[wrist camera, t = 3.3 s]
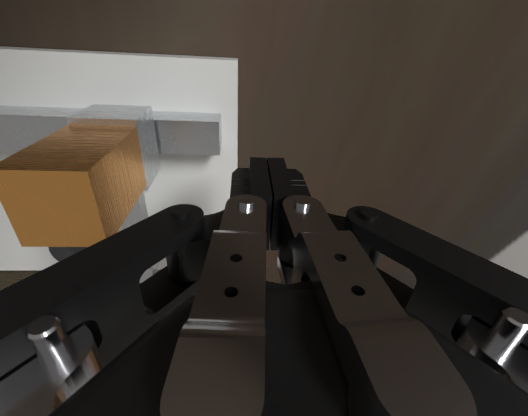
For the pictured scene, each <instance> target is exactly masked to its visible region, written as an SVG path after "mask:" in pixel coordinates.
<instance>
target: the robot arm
mask: <svg viewBox="0 0 528 416" xmlns="http://www.w3.org/2000/svg"><path fill="white" fill-rule="evenodd" d="M269 241H270V250H278V260H277V267H278V271H279V275H280V279H281V283H282V284H279V283H273V282H268V281H266V250H269ZM381 253H382V254H384V255H386V256H387V257H389V258H391V259H393V260H395V261H396V262H398V263H400V264H402V265H404V266H405V267H407V268H409V269H410V270H411V271H412V272H413V273H414V274H415V276H416V280H417V283H416V286H415V288H414V289H412V288H410V287H408V286H407V285H405V284H403V283H402V282H400V281H398V280H397V279H395V278H393V277H392V276H390V275H388V274H387V273H385V272H383V271H382V270H380V269H378V268H377V264H378V261H379V257H380V254H381ZM164 258H166V261H167V266H166V267H164V268H163V269H161V270H160V271H158V272H157V273H155V274H154V275H152V276H151V277H149V278H148V279H146V280H145V281H143V282H142V283H141V284H139V282H140V278H141V276H142V275H143V273H144V272H145V271H146V270H147V269H149V268H150V267H152V266H153V265H155V264H156V263H158V262H160V261H161V260H163V259H164ZM195 294H196V295H195ZM0 416H528V279H527V278H525V277H523V276H521V275H519V274H517V273H514V272H512V271H510V270H508V269H506V268H504V267H501V266H499V265H497V264H495V263H493V262H491V261H488V260H486V259H484V258H482V257H480V256H478V255H475V254H473V253H471V252H469V251H467V250H465V249H462V248H460V247H458V246H456V245H454V244H452V243H449V242H447V241H445V240H443V239H441V238H439V237H436V236H434V235H432V234H430V233H428V232H426V231H423V230H421V229H419V228H417V227H415V226H413V225H410V224H408V223H406V222H404V221H402V220H400V219H397V218H395V217H393V216H391V215H389V214H387V213H384V212H382V211H380V210H378V209H375V208H372V207H366V206H356V207H352V208H350V209H349V210H348V211H347V215H346V217H343V216H338V215H333V214H329V213H327V212H326V210H325V209H324V207H323V205H322V204H321V202H320V201H318V200H317V199H315V198H312V197H311V195H310V193H309V190H308V188H307V186H306V183H305V181H304V178H303V175H302V174H301V173H300V172H299V171H297V170H296V169H287V167H286V164H285V160H284V158H267V161H266V158H256V157H249V168H237V169H236V170H235V171H234V172H232V178H231V190H230V199H228V200H227V202H226V205H225V209H224V210H222V211H220V212H217V213H214V214H209V215H204V212H203V210H202V209H201V208H200V207H198V206H195V205H191V204H178V205H173V206H170V207H168V208H166V209H164V210H162V211H160V212H158V213H156V214H154V215H152V216H150V217H148V218H146V219H144V220H142V221H140V222H138V223H136V224H134V225H132V226H130V227H127V228H125V229H123V230H121V231H119V232H117V233H115V234H113V235H111V236H109V237H107V238H105V239H103V240H101V241H99V242H97V243H95V244H93V245H91V246H89V247H87V248H85V249H83V250H81V251H79V252H77V253H75V254H73V255H71V256H69V257H67V258H65V259H63V260H61V261H59V262H57V263H55V264H53V265H51V266H49V267H47V268H45V269H43V270H41V271H39V272H37V273H35V274H33V275H31V276H29V277H27V278H25V279H23V280H21V281H19V282H17V283H15V284H13V285H11V286H9V287H7V288H5V289H3V290H1V291H0Z"/></svg>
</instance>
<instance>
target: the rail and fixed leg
mask: <svg viewBox="0 0 528 416" xmlns="http://www.w3.org/2000/svg"><path fill="white" fill-rule="evenodd" d="M82 109H84V108H60V107H33V106H5V105H0V150H22V149H24V148H26V147H28V146H29V145H31V144H33V143H35V142H37V141H39V140H40V139H42V138H44V137H46V136H48V135H50V134H51V133H53V132H55V131H57V130H59V129H61V128H62V127H64V126H66V125H68V123H67V119H66V117H68V116H70V115H72V114H74V113H76V112H78V111H80V110H82ZM153 118H154V125H155V132H156V139H157V146H158V153H159V154H179V155H218V156H220V152H221V147H222V123H221V113H198V112H171V111H153Z"/></svg>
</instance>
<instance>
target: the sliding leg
mask: <svg viewBox="0 0 528 416" xmlns="http://www.w3.org/2000/svg"><path fill="white" fill-rule="evenodd" d="M66 119H67V123H68V125H66V126H64V127H62V128H61V129H59V130H57V131H55V132H53V133H51V134H50V135H48V136H46V137H44V138H42V139H40V140H39V141H37V142H35V143H33V144H31V145H29V146H28V147H26V148H24V149H22V150H20V151H18V152H17V153H15V154H13V155H11V156H9V157H7V158H6V159H4V160H2V161H0V202H1V204H2V206H3V208H4V210H5V212H6V214H7V217H8V219H9V221H10V223H11V225H12V227H13V229H14V231H15V234H16V236H17V238H18V240H19V242H20V244H21V246H22V247H89V246H91V245H93V244H95V243H97V242H99V241H101V240H103V239H105V238H107V237H109V236H111V235H113V234H115V233H117V232H118V231H119V229H120V227H121V226H123V229H125V228H127V227H130V226H132V225H134V224H136V223H138V222H140V221H142V220H144V219H146V218H148V213H147V207H146V202H145V196H144V191H143V190H146V191H148V189H149V187H150V186H151V184H152V182H153V181H154V179H155V177H156V176H157V174H158V172H159V170H160V169H161V168H160V161H159V153H158V146H157V139H156V132H155V125H154V118H153V111H152V106H134V105H107V104H92V105H90V106H88V107H86V108H84V109H82V110H80V111H78V112H76V113H74V114H72V115H70V116H68V117H66ZM158 265H159V262H158V263H156V264H155V265H153V266H152V267H150V268H149V269H147V270H146V271H145V272H144V273H143V275H142V276H141V278H140V282H139V283H142V282H143V281H145V280H146V279H148V278H149V277H151V276H152V275H154V274H155V273H157V272H158V269H157V268H158Z"/></svg>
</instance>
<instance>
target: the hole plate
mask: <svg viewBox="0 0 528 416" xmlns="http://www.w3.org/2000/svg"><path fill="white" fill-rule="evenodd" d="M92 104H107V105H134V106H152V111H171V112H198V113H221V123H222V147H221V152H220V156H218V155H179V154H159V161H160V168H161V169H160V170H159V172H158V174H157V176H156V177H155V179H154V181H153V182H152V184H151V186H150V187H149V189H148V191H146V190H143V191H144V196H145V202H146V207H147V213H148V217H150V216H152V215H154V214H156V213H158V212H160V211H162V210H164V209H166V208H168V207H170V206H173V205H178V204H191V205H195V206H198V207H200V208H201V209H202V210H203V212H204V215H209V214H214V213H217V212H220V211H222V210H224V209H225V205H226V202H227V200H228V199H230V190H231V178H232V172H234V171H235V170H236V169H237V168H238V58H223V57H203V56H183V55H163V54H143V53H123V52H103V51H83V50H63V49H44V48H24V47H4V46H0V105H5V106H33V107H60V108H86V107H88V106H90V105H92ZM18 151H20V150H0V161H2V160H4V159H6V158H7V157H9V156H11V155H13V154H15V153H17V152H18ZM121 230H123V226H121V227H120V229H119V231H121ZM119 231H118V232H119ZM85 248H87V247H22V246H21V244H20V242H19V240H18V238H17V236H16V234H15V231H14V229H13V227H12V225H11V223H10V221H9V219H8V217H7V214H6V212H5V210H4V208H3V206H2V204H1V202H0V270H43V269H45V268H47V267H49V266H51V265H53V264H55V263H57V262H59V261H61V260H63V259H65V258H67V257H69V256H71V255H73V254H75V253H77V252H79V251H81V250H83V249H85ZM166 266H167V261H166V258H164V259H163V260H161V261H160V262H159V265H158V268H157V269H158V270H161V269H163V268H164V267H166Z"/></svg>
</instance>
